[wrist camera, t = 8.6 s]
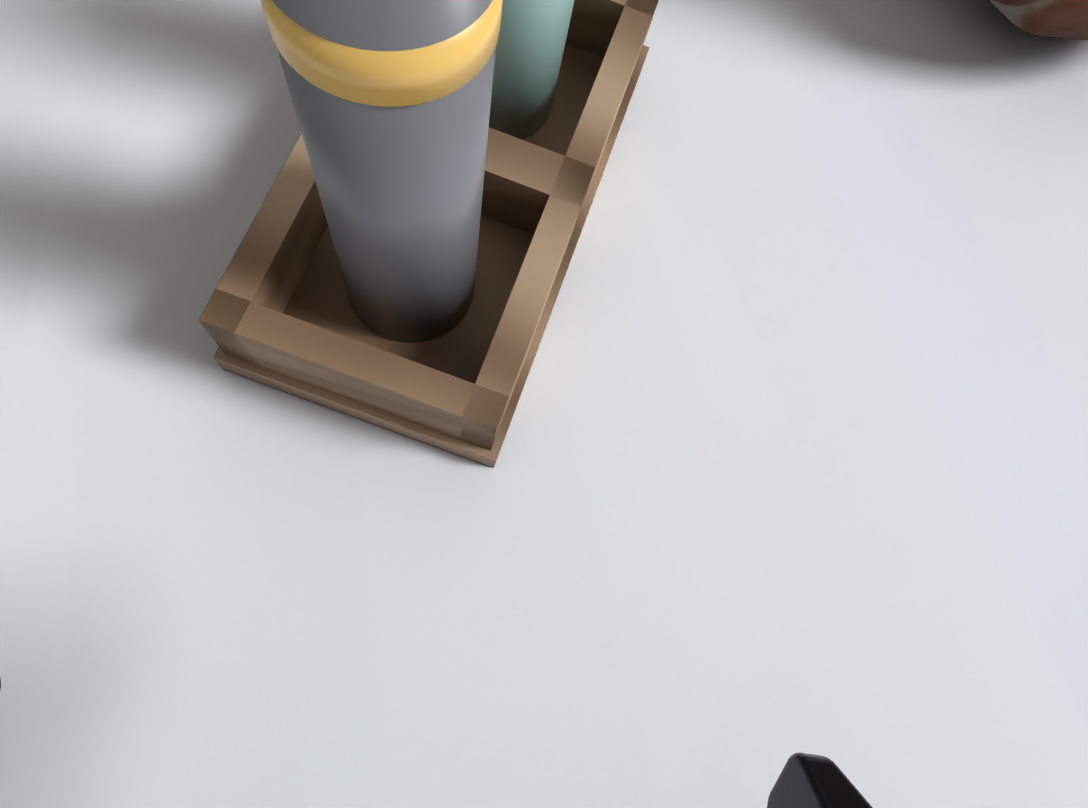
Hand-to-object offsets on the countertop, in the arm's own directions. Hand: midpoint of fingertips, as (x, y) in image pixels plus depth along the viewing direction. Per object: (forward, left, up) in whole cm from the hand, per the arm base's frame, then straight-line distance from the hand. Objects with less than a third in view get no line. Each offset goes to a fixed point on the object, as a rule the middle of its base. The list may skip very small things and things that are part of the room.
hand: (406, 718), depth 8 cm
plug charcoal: (+11, +5, -12) cm, 17 cm away
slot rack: (+15, +5, -14) cm, 20 cm away
